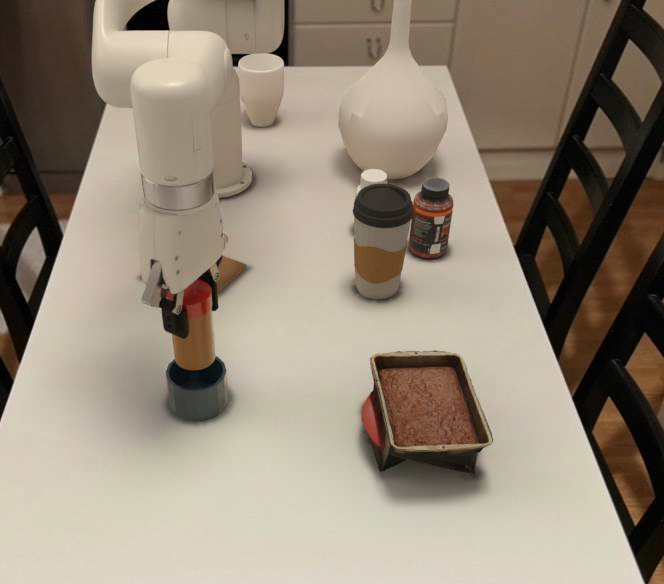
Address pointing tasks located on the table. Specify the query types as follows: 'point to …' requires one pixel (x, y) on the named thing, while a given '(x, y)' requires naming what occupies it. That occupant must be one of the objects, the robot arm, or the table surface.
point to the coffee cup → (380, 238)
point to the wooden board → (228, 272)
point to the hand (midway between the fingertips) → (191, 318)
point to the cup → (197, 390)
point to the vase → (393, 109)
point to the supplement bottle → (431, 219)
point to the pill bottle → (371, 179)
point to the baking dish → (424, 411)
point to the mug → (261, 86)
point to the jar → (196, 328)
